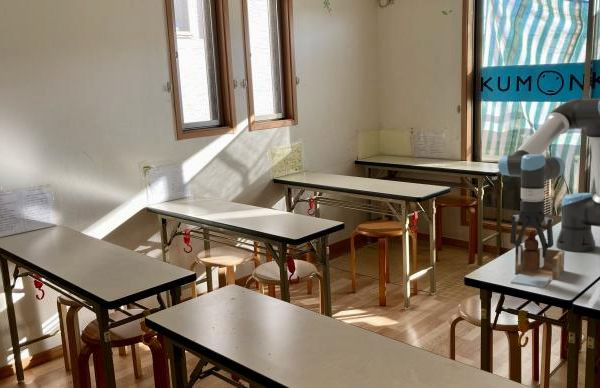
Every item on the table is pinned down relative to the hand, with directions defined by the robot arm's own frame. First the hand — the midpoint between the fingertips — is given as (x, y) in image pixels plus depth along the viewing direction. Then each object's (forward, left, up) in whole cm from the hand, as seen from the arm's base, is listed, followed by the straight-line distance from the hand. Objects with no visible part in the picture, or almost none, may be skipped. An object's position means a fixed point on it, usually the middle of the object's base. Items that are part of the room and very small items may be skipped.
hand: (530, 264), depth 205 cm
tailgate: (-6, 0, -6) cm, 9 cm away
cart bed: (-12, 0, -7) cm, 14 cm away
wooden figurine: (0, 0, -2) cm, 2 cm away
